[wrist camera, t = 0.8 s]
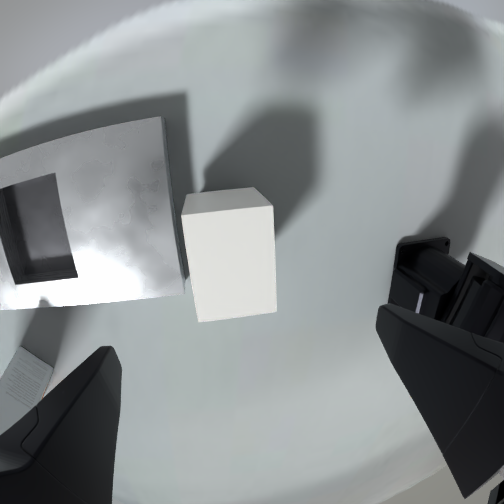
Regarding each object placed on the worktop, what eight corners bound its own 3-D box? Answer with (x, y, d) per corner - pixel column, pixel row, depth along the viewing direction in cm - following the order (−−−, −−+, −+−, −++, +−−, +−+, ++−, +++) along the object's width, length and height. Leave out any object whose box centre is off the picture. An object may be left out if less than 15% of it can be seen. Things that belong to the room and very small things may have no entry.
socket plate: (164, 118, 16) (160, 116, 15) (185, 280, 21) (184, 294, 19) (-23, 170, 14) (-38, 174, 13) (10, 298, 19) (-1, 309, 17)
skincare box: (44, 396, 23) (14, 485, 12) (12, 375, 21) (-27, 459, 10) (56, 367, 22) (17, 470, 11) (20, 343, 20) (-31, 437, 9)
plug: (249, 183, 19) (273, 205, 13) (254, 261, 21) (276, 311, 15) (187, 189, 18) (181, 215, 12) (198, 268, 21) (198, 322, 15)
